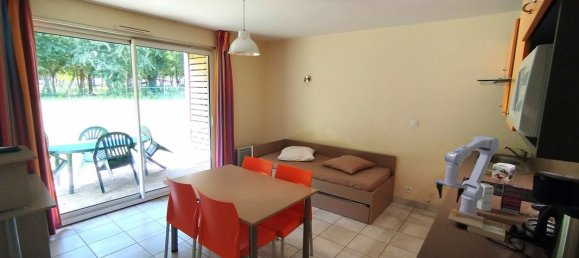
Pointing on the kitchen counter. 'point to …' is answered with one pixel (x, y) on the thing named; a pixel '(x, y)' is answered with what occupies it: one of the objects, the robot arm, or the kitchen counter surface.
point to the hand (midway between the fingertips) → (448, 199)
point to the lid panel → (466, 218)
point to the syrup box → (486, 198)
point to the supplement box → (511, 198)
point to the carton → (490, 230)
